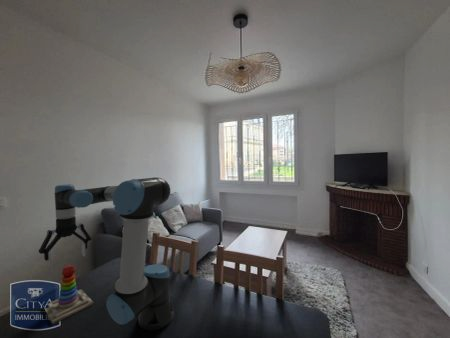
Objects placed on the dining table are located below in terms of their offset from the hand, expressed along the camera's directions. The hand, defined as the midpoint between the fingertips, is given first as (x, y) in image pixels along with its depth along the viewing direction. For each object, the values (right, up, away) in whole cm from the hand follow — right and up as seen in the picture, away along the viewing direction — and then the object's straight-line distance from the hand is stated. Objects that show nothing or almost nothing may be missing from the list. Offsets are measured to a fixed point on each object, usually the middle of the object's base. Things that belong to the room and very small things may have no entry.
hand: (67, 260), depth 100 cm
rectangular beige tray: (0, -23, +1) cm, 23 cm away
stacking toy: (0, -22, +1) cm, 22 cm away
